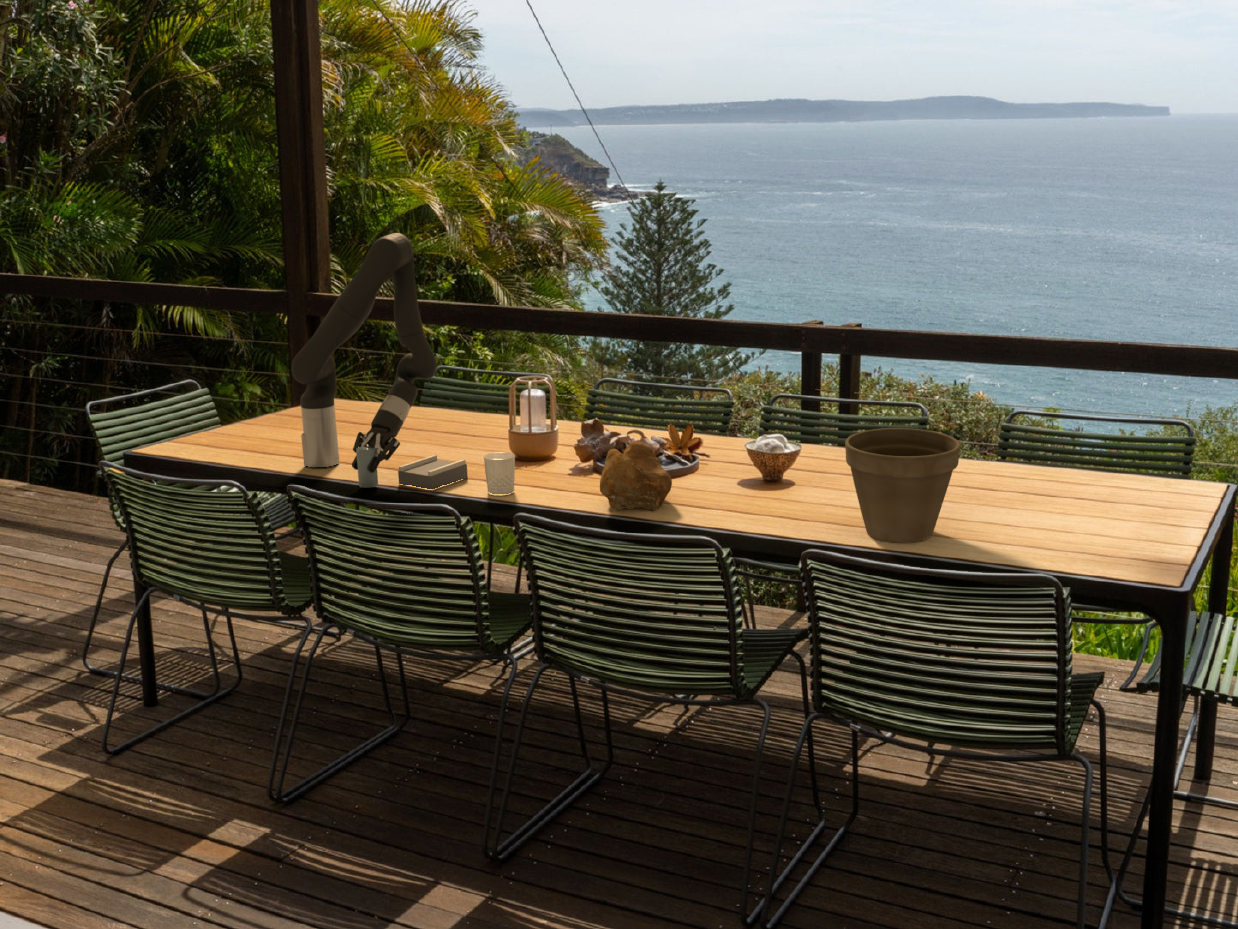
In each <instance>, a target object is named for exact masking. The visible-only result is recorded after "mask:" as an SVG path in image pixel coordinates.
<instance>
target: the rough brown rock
mask: <svg viewBox="0 0 1238 929" xmlns="http://www.w3.org/2000/svg"><path fill="white" fill-rule="evenodd" d="M672 485H673V480H672V477H671V475H670V474H669V472H668V471H667V470H666V469H664V468H663V466H662V464H661V462H660V459H659V458H658V457H657V455H656V452H655V451H654V449H653V447H651V446H650V445H649V444H648V443H645V442H643V441H639V440H632V441H630V442H629V443H628V445H627V446H626V448H625V449H624V452H623V453H622V452H620V451H619V450H618V449H616V448H611V449H609V450H608V451H607V454H606V458H605V461H604V466H603V469H602V471H601V475H600V479H599V491H600V493H601V494H602V495H603V496H604V497H605V498H607V500H608V504H609V507H610V508H611V509H612V510H614V511H621V510H622V509H624V508H626V509H628V510H631V509H637V508H643V509H646V510H650V511H656V510H658V509H659V508H660V507H662V505H663V503H664V501H665V500H666V498H667V496H668V494H669V493H670V492H671V489H672Z"/></svg>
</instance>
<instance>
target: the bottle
mask: <svg viewBox="0 0 1238 929" xmlns="http://www.w3.org/2000/svg"><path fill="white" fill-rule="evenodd" d="M355 454H356V455H357V467H358V470H357V477H358V478H357V479H358V487H360V488H365V489H366V488H367V489H369V488H375V487H378V485H379V478H378V476H379V475H378V468H377V469H376V470H375V471H374V473H371V472H369V471H368V470H367V467H368V465H369V463H370V462H371V460H372V458H373V457H375V456H374V455H375V447H373V446H368V445H367V446H363V447H359V446H358V448H356V453H355Z"/></svg>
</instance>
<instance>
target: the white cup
mask: <svg viewBox="0 0 1238 929" xmlns="http://www.w3.org/2000/svg"><path fill="white" fill-rule="evenodd" d="M515 457H516V456H515V454H514V453H513V452H508V451H498V452H496V451H495V452H490V453H489V452H488V453H486V454H485V455H483V463H484V473H485V480H486V481H485V482H486V486H487V493H488V492H490V493H492V494H509V493H512V492H513V491H514V492H515V471H516V470H515V468H516V467H515V466H516V465H515V461H516V460H515V459H516V458H515Z"/></svg>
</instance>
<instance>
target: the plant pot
mask: <svg viewBox="0 0 1238 929" xmlns="http://www.w3.org/2000/svg"><path fill="white" fill-rule="evenodd" d="M960 452H961V442H960V441H959V440H958V439H956V438H955V437H953V436H951V435H949V434H946V433H942V432H938V431H934V430H927V429H921V428H920V429H919V428H905V427H887V428H884V427H883V428H875V429H869V430H868V429H867V430H863V431H858V432H856V433H853V434H851V435H849V436H848V437H847V438H846V439H845V462H846V464H847V465H848V466H849V467H850V471H851V474H852V475H851V476H852V480H853V484H854V488H855V492H856V496H857V501H858V505H859V508H860V512H861V513H860V514H861V516H862V520H863V523H864V527H865V531H866V534H867V535H869V537H871V538H874V539H876V540H879V541H883V542H888V543H896V544H909V543H912V544H913V543H919V542H924V541H926V540H928V539H929V538H931V537H932V535H933V534H934V531H935V528H936V526H937V521H938V519H939V515H940V512H941V510H942V506H943V503H944V500H945V497H946V494H947V491H948V489H949V484H950V481H951V479H952V474H953V471H955V469H957V467H958V466H959V462H960V461H959V460H960Z"/></svg>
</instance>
